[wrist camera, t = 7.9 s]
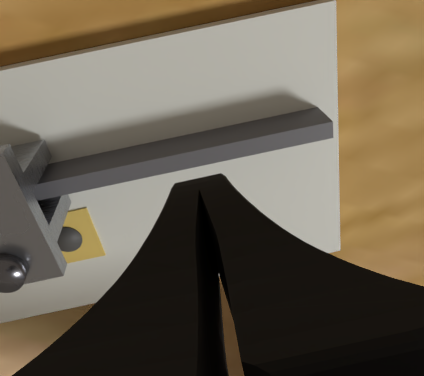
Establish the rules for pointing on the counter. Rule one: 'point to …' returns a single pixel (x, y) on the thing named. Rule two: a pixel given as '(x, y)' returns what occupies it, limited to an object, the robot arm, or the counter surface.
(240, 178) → the rail board
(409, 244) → the counter surface
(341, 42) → the counter surface
